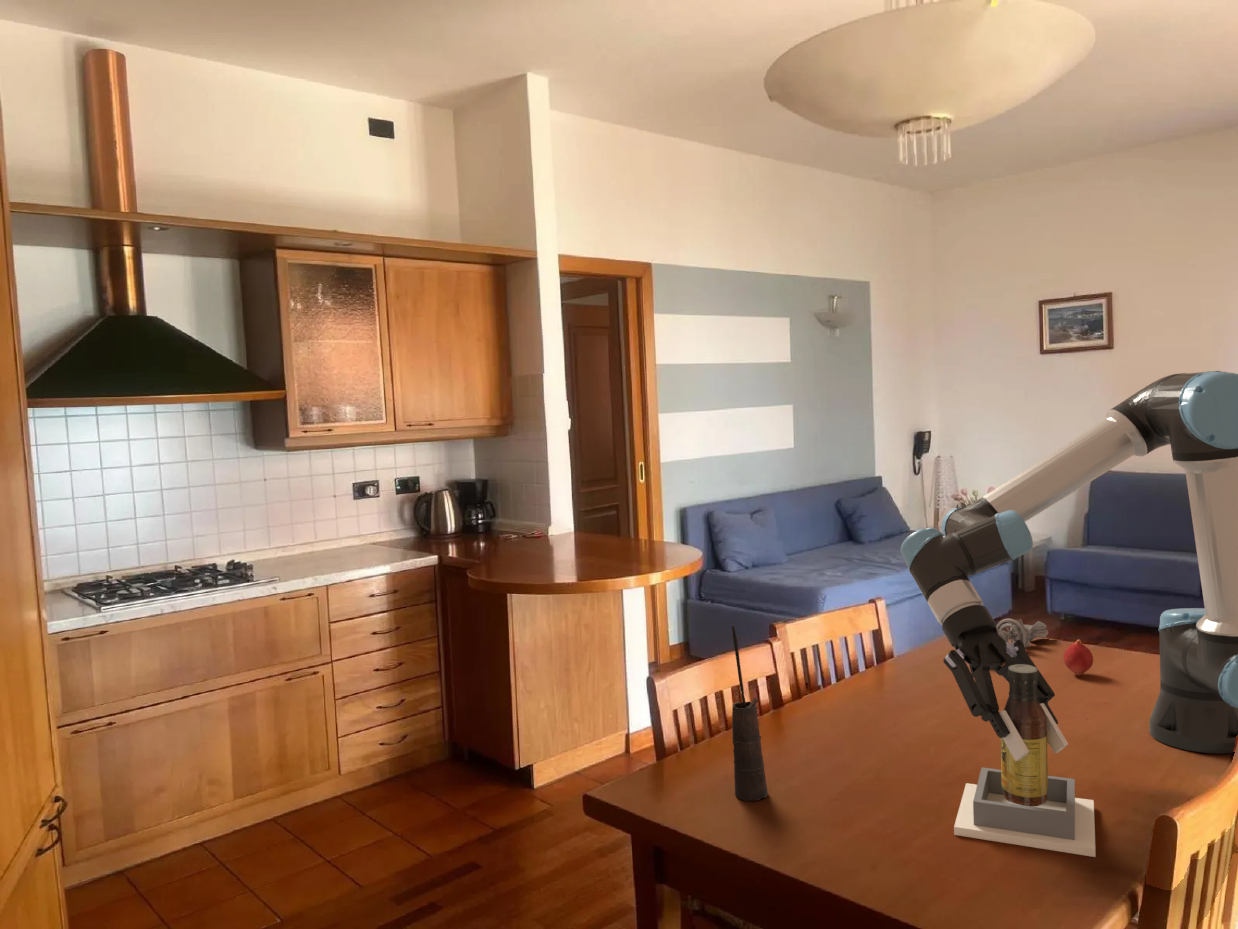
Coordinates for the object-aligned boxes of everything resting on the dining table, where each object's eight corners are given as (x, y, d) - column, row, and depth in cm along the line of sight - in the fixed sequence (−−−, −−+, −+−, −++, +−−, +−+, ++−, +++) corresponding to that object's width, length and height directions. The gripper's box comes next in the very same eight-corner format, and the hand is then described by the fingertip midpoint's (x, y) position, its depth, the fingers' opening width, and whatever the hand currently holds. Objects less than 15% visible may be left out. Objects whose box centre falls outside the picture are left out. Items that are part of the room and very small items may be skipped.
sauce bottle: (1009, 787, 140) (1007, 658, 138) (1053, 797, 136) (1052, 664, 134) (995, 802, 135) (994, 669, 133) (1040, 813, 131) (1040, 676, 129)
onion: (1057, 673, 203) (1057, 638, 202) (1078, 670, 204) (1078, 634, 204) (1078, 681, 197) (1077, 644, 197) (1099, 677, 199) (1099, 640, 198)
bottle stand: (1093, 808, 138) (1093, 777, 138) (1095, 857, 124) (1095, 823, 124) (966, 790, 146) (965, 761, 146) (954, 835, 132) (953, 803, 132)
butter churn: (765, 776, 156) (758, 613, 154) (795, 798, 147) (789, 624, 145) (716, 787, 152) (709, 620, 150) (744, 809, 143) (737, 632, 142)
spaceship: (949, 629, 214) (979, 621, 208) (1025, 617, 236) (1054, 610, 230) (960, 663, 212) (990, 656, 206) (1036, 648, 234) (1065, 641, 228)
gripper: (1000, 621, 151) (1080, 753, 137) (901, 636, 145) (974, 775, 131) (1023, 595, 146) (1109, 730, 131) (921, 609, 140) (999, 752, 125)
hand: (1041, 752), depth 131 cm, fingers closed on sauce bottle, 6 cm apart
